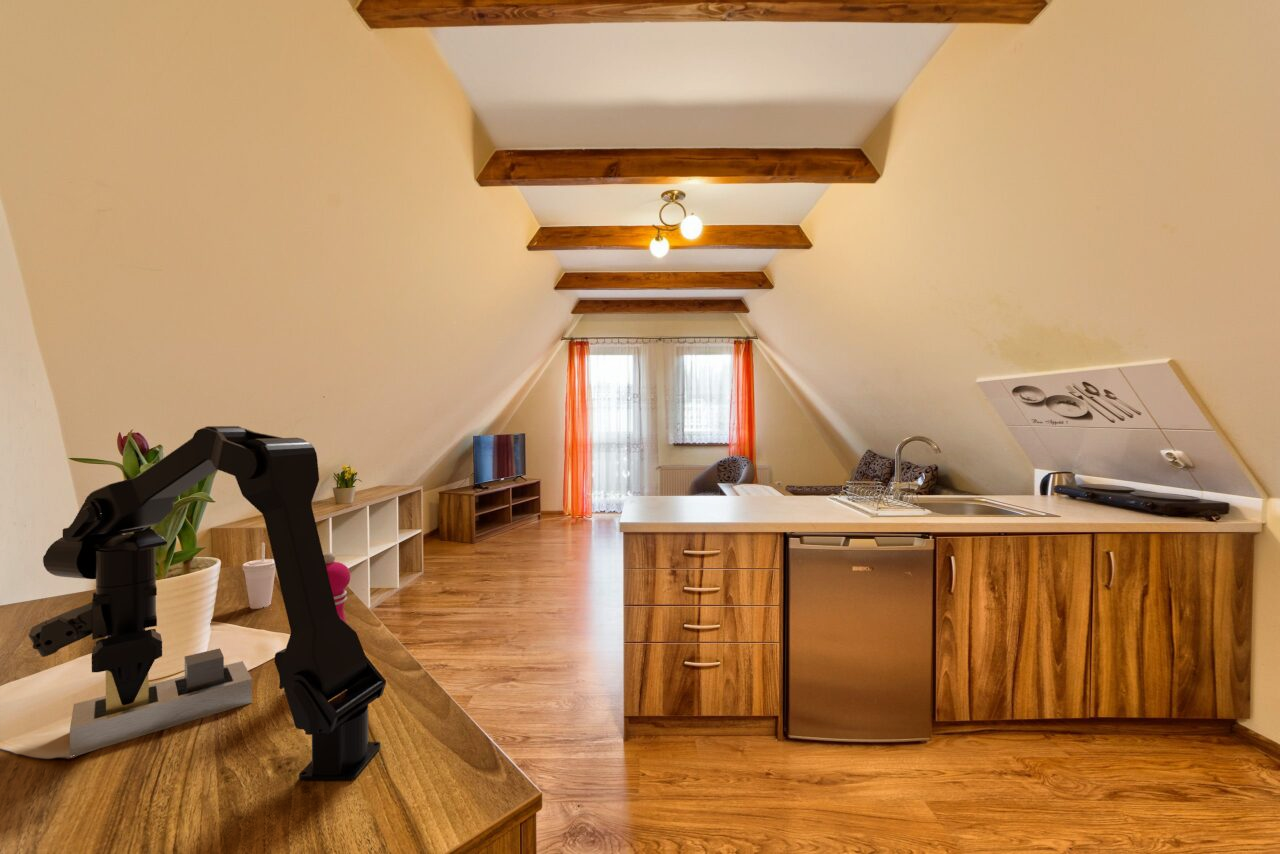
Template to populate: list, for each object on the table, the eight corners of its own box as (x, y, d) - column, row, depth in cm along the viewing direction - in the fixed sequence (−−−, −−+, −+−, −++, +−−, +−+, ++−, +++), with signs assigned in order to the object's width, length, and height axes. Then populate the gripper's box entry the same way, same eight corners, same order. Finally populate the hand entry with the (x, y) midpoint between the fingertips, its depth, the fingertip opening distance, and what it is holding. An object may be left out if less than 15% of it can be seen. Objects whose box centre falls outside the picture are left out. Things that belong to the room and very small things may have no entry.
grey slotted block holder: (242, 683, 83) (242, 638, 83) (251, 702, 77) (251, 654, 77) (73, 730, 70) (73, 677, 70) (70, 757, 64) (69, 700, 64)
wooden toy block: (148, 712, 71) (148, 660, 71) (106, 724, 68) (105, 670, 68) (147, 701, 73) (147, 651, 73) (106, 712, 71) (106, 660, 71)
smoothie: (283, 604, 119) (283, 542, 118) (250, 613, 113) (250, 547, 113) (269, 599, 122) (269, 538, 122) (237, 607, 117) (236, 543, 116)
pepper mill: (331, 691, 80) (330, 559, 80) (290, 686, 82) (290, 557, 81) (365, 670, 87) (364, 548, 87) (327, 665, 89) (326, 546, 88)
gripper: (42, 578, 71) (43, 694, 72) (25, 614, 58) (27, 755, 58) (154, 563, 79) (155, 667, 79) (162, 591, 66) (163, 716, 66)
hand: (127, 697), depth 71 cm, fingers closed on wooden toy block, 4 cm apart
